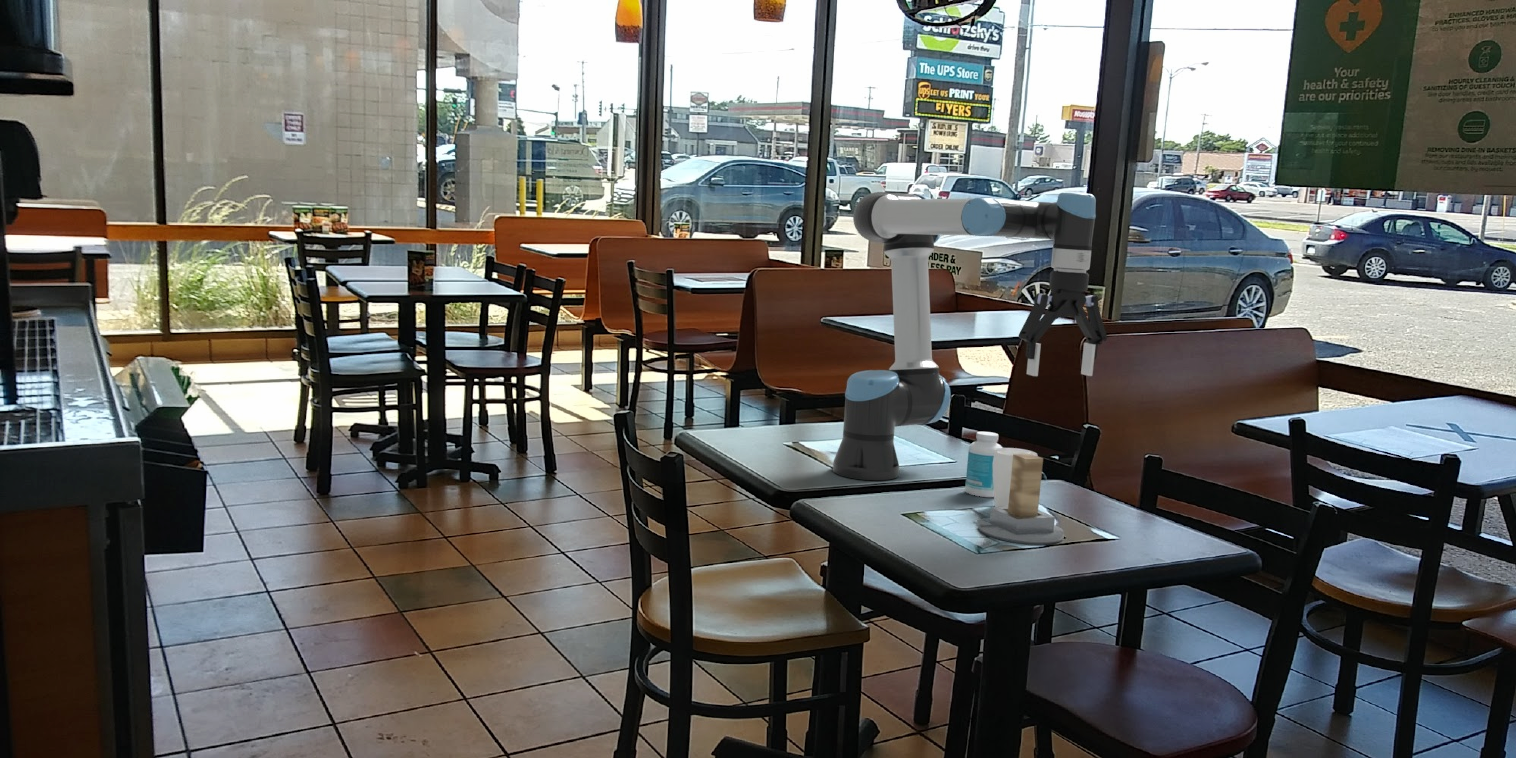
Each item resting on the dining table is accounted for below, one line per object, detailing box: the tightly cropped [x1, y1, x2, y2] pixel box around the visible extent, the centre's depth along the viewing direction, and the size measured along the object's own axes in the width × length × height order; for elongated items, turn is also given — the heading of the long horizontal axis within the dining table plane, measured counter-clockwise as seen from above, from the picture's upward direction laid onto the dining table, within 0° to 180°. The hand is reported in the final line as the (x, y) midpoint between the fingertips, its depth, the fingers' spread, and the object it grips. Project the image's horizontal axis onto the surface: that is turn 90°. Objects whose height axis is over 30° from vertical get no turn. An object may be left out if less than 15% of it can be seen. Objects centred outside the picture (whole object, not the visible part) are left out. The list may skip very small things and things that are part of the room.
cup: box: [993, 447, 1038, 507], centre depth 237 cm, size 9×9×12 cm
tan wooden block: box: [1008, 454, 1044, 517], centre depth 218 cm, size 4×4×14 cm
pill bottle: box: [964, 431, 1003, 498], centre depth 248 cm, size 8×7×14 cm
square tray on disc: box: [978, 506, 1065, 546], centre depth 219 cm, size 16×16×4 cm
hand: (1059, 375), depth 232 cm, fingers open, 13 cm apart
